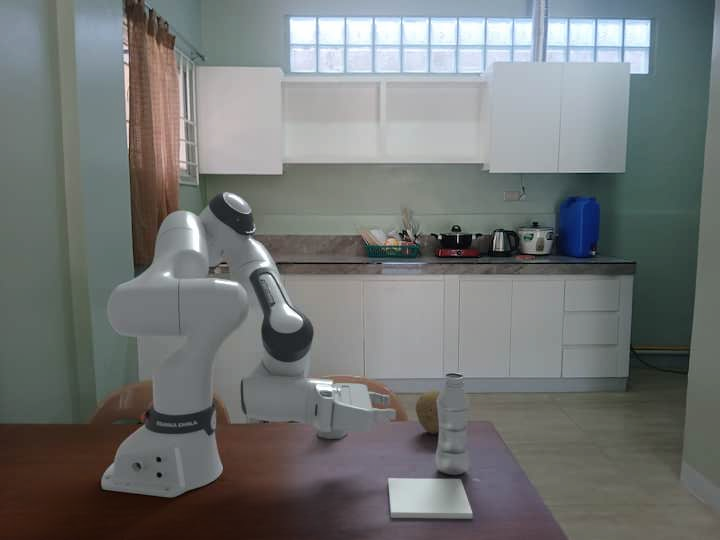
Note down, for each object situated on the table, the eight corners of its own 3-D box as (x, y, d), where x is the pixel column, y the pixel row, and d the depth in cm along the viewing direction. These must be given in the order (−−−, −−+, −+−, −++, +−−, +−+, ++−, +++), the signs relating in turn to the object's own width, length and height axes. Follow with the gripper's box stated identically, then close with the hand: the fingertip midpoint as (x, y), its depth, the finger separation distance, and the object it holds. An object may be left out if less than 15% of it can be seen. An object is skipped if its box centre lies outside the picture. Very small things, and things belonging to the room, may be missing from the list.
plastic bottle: (471, 479, 114) (474, 381, 111) (436, 479, 114) (439, 380, 111) (465, 464, 120) (468, 370, 117) (432, 463, 120) (435, 370, 118)
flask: (343, 441, 131) (344, 398, 129) (312, 438, 132) (312, 396, 131) (350, 428, 138) (350, 388, 136) (321, 426, 139) (321, 386, 138)
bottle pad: (391, 517, 100) (391, 512, 100) (388, 483, 112) (388, 478, 112) (472, 518, 100) (472, 513, 100) (460, 483, 112) (460, 479, 112)
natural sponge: (437, 422, 142) (438, 383, 141) (462, 435, 134) (463, 393, 133) (407, 430, 137) (408, 389, 136) (432, 444, 130) (433, 401, 128)
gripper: (321, 402, 124) (385, 407, 125) (320, 435, 104) (397, 440, 105) (324, 373, 124) (388, 378, 125) (323, 400, 103) (400, 406, 104)
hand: (392, 407), depth 114 cm, fingers open, 8 cm apart
